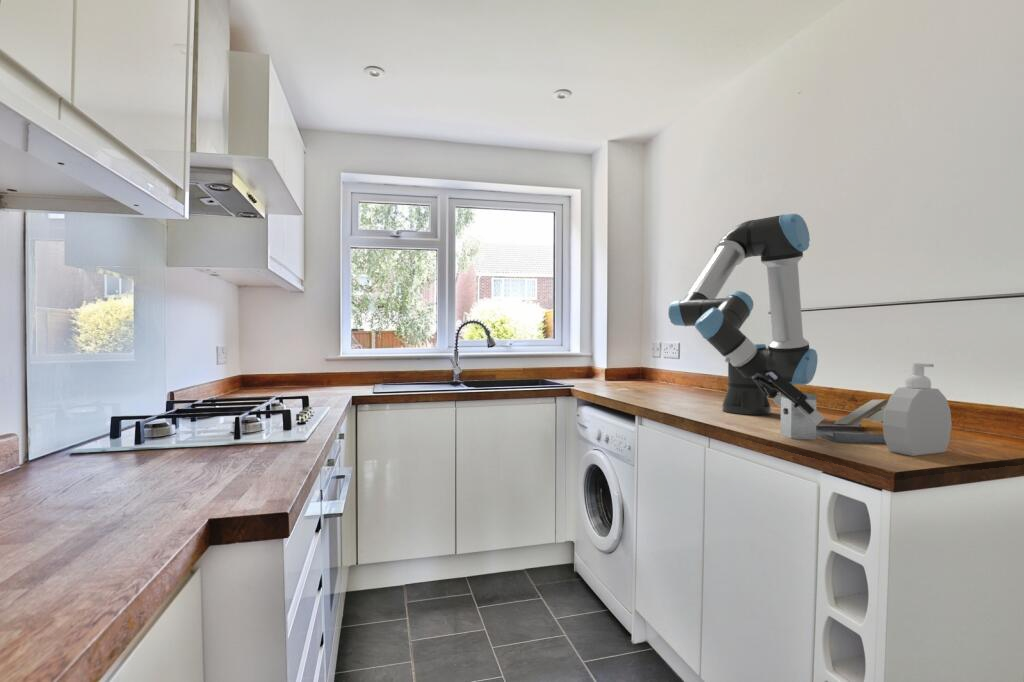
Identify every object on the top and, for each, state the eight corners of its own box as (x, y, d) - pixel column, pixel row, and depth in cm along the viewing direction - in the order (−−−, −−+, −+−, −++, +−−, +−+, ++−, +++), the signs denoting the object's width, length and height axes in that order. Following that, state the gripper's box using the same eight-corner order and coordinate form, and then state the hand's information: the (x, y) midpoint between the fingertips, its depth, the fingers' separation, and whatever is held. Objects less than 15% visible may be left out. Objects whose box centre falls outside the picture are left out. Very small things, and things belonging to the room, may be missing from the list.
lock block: (779, 434, 132) (779, 392, 132) (804, 434, 131) (804, 392, 131) (789, 438, 126) (790, 394, 125) (816, 439, 125) (816, 395, 125)
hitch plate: (810, 432, 134) (810, 417, 134) (865, 434, 132) (866, 418, 132) (835, 442, 122) (835, 424, 122) (896, 443, 120) (896, 426, 120)
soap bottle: (908, 457, 106) (909, 364, 106) (881, 452, 111) (883, 363, 111) (953, 452, 112) (955, 363, 112) (926, 447, 117) (928, 362, 117)
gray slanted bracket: (899, 449, 133) (932, 411, 136) (876, 424, 134) (910, 387, 136) (852, 445, 150) (882, 412, 152) (831, 423, 150) (862, 390, 153)
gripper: (720, 365, 142) (774, 419, 141) (754, 371, 117) (820, 436, 116) (739, 347, 142) (794, 401, 140) (777, 348, 117) (844, 414, 115)
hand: (806, 417), depth 128 cm, fingers open, 13 cm apart
